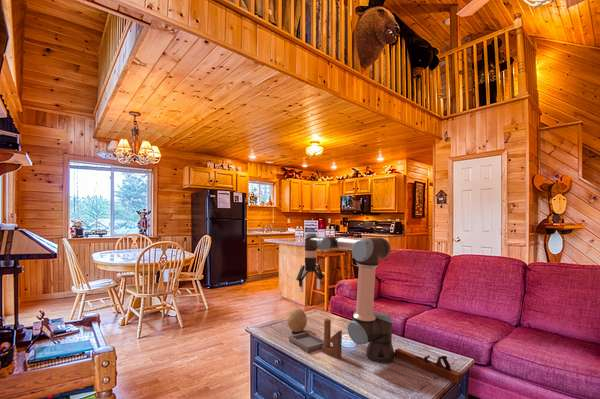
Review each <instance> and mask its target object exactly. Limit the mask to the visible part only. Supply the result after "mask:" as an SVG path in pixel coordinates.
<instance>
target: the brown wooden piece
mask: <svg viewBox="0 0 600 399" xmlns="http://www.w3.org/2000/svg"><path fill="white" fill-rule="evenodd" d="M323 321H324V322H323V324H324V325H323V326H324V327H323V340H324V345H323V346H322V349H321V350H322V351H321V352H322V353H323V354H325V355H328V356H330V357H333V358H335V359H336V360H337V359H340V358H342V343H343V342H342V340H343V332H342V330H338V331H336V333H335V334H334V335H332V336H331V334H332V332H331V330H332V328H331V327H332V326H331V323H332V320H331V319H330V318H324V320H323ZM331 344H332V346H331Z"/></svg>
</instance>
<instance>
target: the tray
mask: <svg viewBox="0 0 600 399" xmlns="http://www.w3.org/2000/svg"><path fill="white" fill-rule="evenodd" d="M288 342H290V343H291V344H293V345H295V346H296V347H297V348H299V349H301V350H302V351H304V352H305V353H307V354H309V353H312V352H313V353H314V352H316V351H319V350H322V346H323V345H324V338H321V337H319V336H317V335H315V334H314V333H311V332H309V331H304V332H301V333H300V332H299V333H297V334H292V335H289V336H288Z"/></svg>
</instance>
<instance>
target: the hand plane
mask: <svg viewBox="0 0 600 399" xmlns="http://www.w3.org/2000/svg"><path fill="white" fill-rule="evenodd" d="M394 353H395V359H398V360H401V361H402V362H405V363H408V364H410V365H412V366H414V367H417V368H419V369H422V370H424V371H426V372H428V373H431V374H433V375H436V376H438V377H440V378H442V379H445V380H447V381H449V382H452V383H454V384H457V385H460V384H461V383H462V382H463V375H462V373H461V372H459V371H457V370H454V369H451V368H452V367H451V365H450V362H449V361H448V360H447V358H448V356H447V355H441V356H438V357H437V360H436V362H434V361H431V360H429V358H431V355H430V354H428V355H426V356H424V357H421V356H418V354H414V353H412V352H408V351H406V350H404V349H401V348H399V347H397V348H395V349H394ZM444 365H445V366H444Z"/></svg>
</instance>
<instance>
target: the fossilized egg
mask: <svg viewBox="0 0 600 399" xmlns="http://www.w3.org/2000/svg"><path fill="white" fill-rule="evenodd" d="M286 322H287V326H288V328H289V329H290V330H291V331H292V332H294V333H300V332H302V331H303V330H305V328H306V326H307V323H308V318H307V314H306V312H305V311H303V309H302V308H300V307H295V308H293V309H291V310H290V312H289V314H288V316H287V320H286Z"/></svg>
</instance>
